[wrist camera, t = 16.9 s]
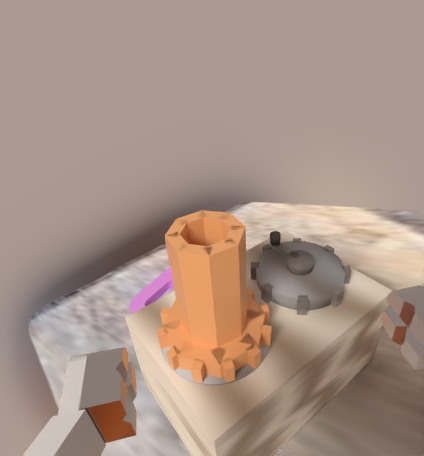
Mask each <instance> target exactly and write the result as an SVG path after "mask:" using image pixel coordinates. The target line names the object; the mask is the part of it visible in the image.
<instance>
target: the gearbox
mask: <svg viewBox="0 0 424 456" xmlns="http://www.w3.org/2000/svg"><path fill="white" fill-rule="evenodd" d="M333 252H334V248H332V247H330V246H328V245H327V246H325V247H322V246H320V245H317V244H313V243H309V242H305V241H303V240H301V238H298V237H296V236H294V235H293V234H291V233H289V232H287V231H285V230H284V231H282V232H280V233H279V232H276V231H274V232H271V233H270V238H269V239H268V240H266V241H264V242H262V243H260V244H258V245H257V246H255V247H253V248H251V249H249V250H247V251H246V284H247V289H248V288H250V289H251V290H253V291H254V292H255V302H256V303H257V304H258V306H259V305H264V304H267V306H268V308H269V323H266V324H265V325H266V326H272V336H271V344H270V346H265V345H261V347H260V350H261V364H260V365H259V366H258V367H257V368H256V369H254V368H252V367H251V366H250V365H249V364H247V365H245V366H243V367H241V368H239V369H237V370H236V371H235V380H234V381H230V382H225V378H224V377H223V378H219V377H215V376H210V375H206V374H205V377H204V380H203V383H200V382H196V381H193V377H192V371H189V370H184V369H180V367H179V368H177V369H176V370H175V371H174V370H173V369H172V368H171V367H170V366H169V364H168V359H167V355H166V352H167V351H168V350H170V348H169V347H167V348H163V349H161V348H160V344H159V340H158V334H157V329H161V328H162V325H163V324H162V320H161V315H160V312H161V311H162V309H163V307H166V308H172V306H173V304H174V302H175V300H176V296H175V291H173V292H171V293H169V294H167V295H165V296H164V297H162V298H160V299H158V300H156V301H154V302H153V303H151V304H149V305H147V306H145V307H143V308H142V309H140V310H138V311H136V312H134V313H133V314H131V315H129V316H127V317H125V319H126V322H127V325H128V328H129V332H130V335H131V338H132V341H133V345H134V348H135V351H136V355H137V358H138V361H139V364H140V368H141V371H142V374H143V377H144V381H145V384H146V385H147V387H148V388H149V390H150V391H151V393H152V394H153V396H154V398H155V399H156V401H157V402H158V404H159V405H160V407H161V408H162V410H163V411H164V413H165V415H166V416H167V418H168V419H169V421H170V422H171V424H172V425H173V427H174V428H175V430H176V432H177V433H178V435H179V436H180V438H181V439H182V441H183V442H184V444H185V445H186V447H187V448H188V450H189V452H190V453H191V455H192V456H273V455H274V454H275V453H276V452H277V451H278V450H279V449H280V448H281V447H282V446H283V445H284V444H285V443H286V442H287V441H288V440H289V439H290V438H291V437H292V436H293V435H294V434H296V433H297V432H298V431H299V430H300V429H301V428H302V427H303V426H304V425H305V424H306V423H307V422H308V421H309V420H310V419H311V418H312V417H313V416H314V415H315V414H316V413H317V412H318V411H320V410H321V409H322V408H323V407H324V406H325V405H326V404H327V403H328V402H329V401H330V400H331V399H332V398H333V397H334V396H335V395H336V394H337V393H338V392H339V391H340V390H341V389H342V388H344V387H345V386H346V385H347V384H348V383H349V382H350V381H351V380H352V379H353V378H354V377H355V376H356V375H357V374H358V373H359V372H360V371H361V370H362V369H363V368H364V367H365V366H366V365H368V364H369V363H370V362H371V361H372V359H373V356H374V352H375V349H376V346H377V342H378V339H379V336H380V333H381V329H382V326H383V321H382V315H383V311H384V310H385V309H386V308H387V307H388V306H389V303H388V302H387V301H386V300H387V297H388V294H390V293H391V292H392V290H391V289H389V288H387V287H385V286H383V285H382V284H380V283H378V282H376V281H375V280H373V279H371V278H369V277H367V276H366V275H364V274H362V273H360V272H359V271H357V270H355V269H353V268H351V267H350V266H348V265H346V264H344V263H342V261H341V260H340V259H339V257H338V256H337V255H335V254H334V253H333Z"/></svg>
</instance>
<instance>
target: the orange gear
mask: <svg viewBox="0 0 424 456" xmlns="http://www.w3.org/2000/svg"><path fill="white" fill-rule="evenodd" d="M165 240H166V245H167V251H168V256H169V262H170V268H171V273H172V279H173V284H174V290H175V296H176V300H175V302H174V304H173V306H172V308H166V307H163V309H162V311H161V312H160V315H161V320H162V324H163V325H162V328H161V329H157V334H158V340H159V344H160V348H161V349H163V348H167V347H169V348H170V350H168V351H167V352H166V355H167V359H168V364H169V366H170V367H171V368H172V369H173V370H174V371H175V370H176V369H177V368H179V367H180V369H184V370H189V371H192V377H193V381H196V382H200V383H203V380H204V377H205V374H206V375H210V376H215V377H219V378H223V377H224V378H225V382H230V381H234V380H235V371H236V370H237V369H239V368H241V367H243V366H245V365H247V364H249V365H250V366H251V367H252V368H254V369H256V368H257V367H258V366H259V365H260V364H261V350H260V347H261V345H265V346H270V344H271V336H272V326H266V325H265V324H266V323H269V308H268V306H267V304H264V305H259V306H258V304H257V303H256V302H255V292H254V291H253V290H251V289H250V288H248V289H247V284H246V234H245V226H244V225H243V224H242V223H241V222H240V221H238V220H237V219H236V218H235V217H234V216H232V215H231V214H230V213H224V212H213V211H199V212H196V213H193V214H190V215H187V216H184V217H181V218H178V219H176V220H175V222H174V223H173V225H172V226H171V227H170V229H169V230H168V232H167V233H166V235H165Z"/></svg>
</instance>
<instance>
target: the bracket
mask: <svg viewBox="0 0 424 456" xmlns="http://www.w3.org/2000/svg"><path fill="white" fill-rule="evenodd" d="M166 247H167V245H166ZM167 252H168V251H167ZM168 258H169V256H168ZM169 263H170V262H169ZM170 288H174V284H173V279H172V273H171V268H170V266H169V268H168V269H167V270H166V271H165V272H163V273H162V274H161V275H160V276H159V277H157V278H156V279H155V280H154V281H153V282H151V283H150V284H149V285H148V286H147V287H145V288H144V289H143V290H142V291H141V292H139V293H138V294H137V295H136V296H135V297H134V298H133V300H132V301H131V304H130V311H131V314H133V313H134V312H136V311H138V310H140V309H142V308H143V307H145V306H147V305H149V304H151V303H153V302H154V301H156V300H157V299H158V298H159V297H160V296H162V295H163V294H164V293H165V292H166V291H167V290H168V289H170ZM174 291H175V290H174Z"/></svg>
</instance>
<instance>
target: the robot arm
mask: <svg viewBox="0 0 424 456" xmlns="http://www.w3.org/2000/svg"><path fill="white" fill-rule="evenodd" d="M386 301H387V302H388V303H389V304H390V305H389V306H388V307H387V308H386V309H385V310H384V311H383V315H382V321H383V326H384V328H385V330H386V333H387V334H388V336H389V337H390V338H391V340H393V341H395V342H396V343H398V344H400V345H401V353H402V355H403V356H404V357H405V359H406V360H407V361H408V363H409V364H410V365H411V367H412V368H413V370H414V371H417V370H422V369H424V285H422V286H415V287H411V288H406V289H402V290H397V291H392V292H391V293H390V294H388V297H387V300H386ZM135 397H136V379H135V373H134V368H133V366H132V363H130V362H128V352H127V350H126V348H125V347H124V348H118V349H112V350H107V351H101V352H96V353H90V354H85V355H80V356H75V357H71V358H70V360H69V362H68V365H67V370H66V375H65V381H64V386H63V391H62V396H61V402H60V407H59V412H58V415H56V416H53V417H52V418H51V419H50V420H49V421H48V423H47V424H46V425H45V427H44V428H43V429H42V431H41V432H40V434H39V435H38V436H37V437H36V439H35V440H34V441H33V443H32V444H31V445H30V447H29V448H28V449H27V450H26V452H25V453H24V454H23V456H101V454H102V452H103V450H104V448H105V446H106V444H105V443H108V442H112V441H116V440H119V439H123V438H127V437H131V436H135V435H136V409H135V407H134V404H133V400H134V399H135Z"/></svg>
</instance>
